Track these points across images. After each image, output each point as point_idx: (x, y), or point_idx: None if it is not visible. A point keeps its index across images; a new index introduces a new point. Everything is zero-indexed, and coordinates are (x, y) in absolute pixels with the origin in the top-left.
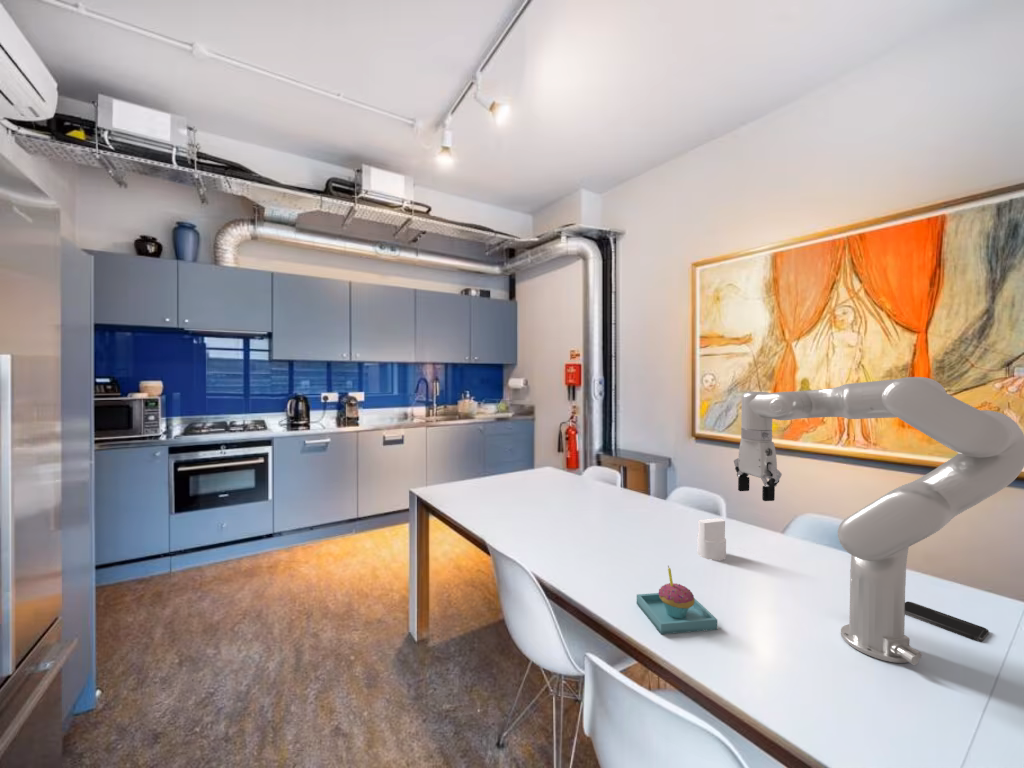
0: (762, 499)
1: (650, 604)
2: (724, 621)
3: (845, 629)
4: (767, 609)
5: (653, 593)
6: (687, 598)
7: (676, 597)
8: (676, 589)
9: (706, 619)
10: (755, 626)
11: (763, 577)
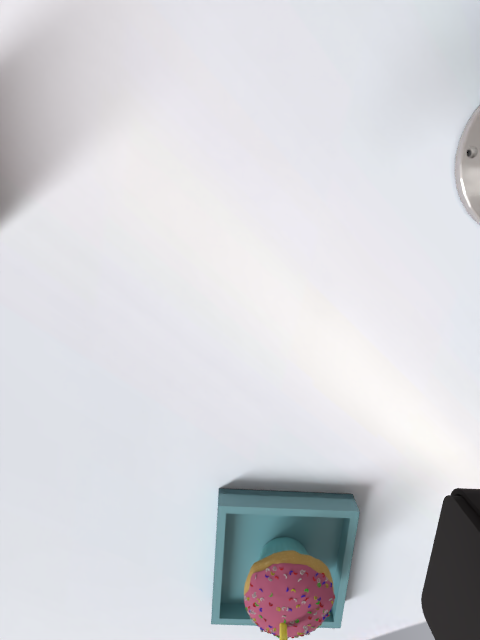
0: (434, 621)
1: (234, 588)
2: (328, 458)
3: (476, 195)
4: (309, 311)
5: (214, 587)
6: (330, 598)
7: (321, 622)
8: (305, 624)
9: (352, 534)
10: (366, 401)
11: (126, 156)
